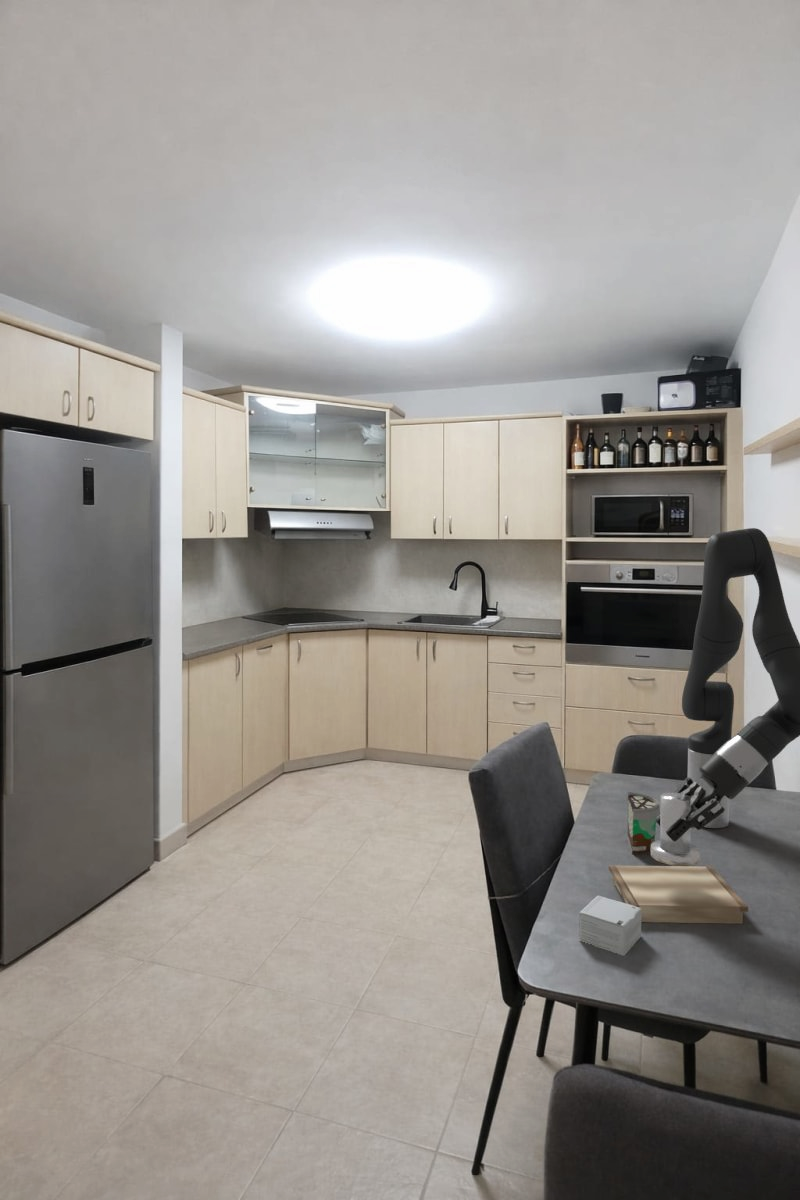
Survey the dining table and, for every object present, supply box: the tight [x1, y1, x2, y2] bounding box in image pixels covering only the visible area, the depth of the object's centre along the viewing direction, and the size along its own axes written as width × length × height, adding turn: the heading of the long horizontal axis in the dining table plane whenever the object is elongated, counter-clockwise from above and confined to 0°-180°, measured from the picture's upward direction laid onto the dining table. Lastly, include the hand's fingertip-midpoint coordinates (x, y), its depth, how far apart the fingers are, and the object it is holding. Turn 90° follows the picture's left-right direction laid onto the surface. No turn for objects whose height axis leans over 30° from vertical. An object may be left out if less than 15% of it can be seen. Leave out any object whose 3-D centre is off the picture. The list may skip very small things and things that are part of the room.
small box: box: [578, 895, 642, 957], centre depth 122 cm, size 8×8×5 cm
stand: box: [608, 864, 749, 925], centre depth 135 cm, size 16×20×3 cm
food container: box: [626, 791, 661, 855], centre depth 159 cm, size 12×6×10 cm, turn 168°
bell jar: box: [650, 792, 701, 866], centre depth 134 cm, size 8×8×11 cm
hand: (664, 831), depth 134 cm, fingers closed on bell jar, 5 cm apart
